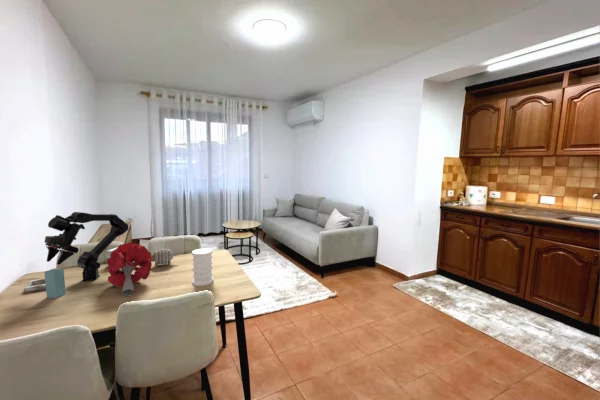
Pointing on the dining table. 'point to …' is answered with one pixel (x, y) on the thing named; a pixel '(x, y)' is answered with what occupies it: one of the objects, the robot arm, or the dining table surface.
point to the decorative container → (202, 267)
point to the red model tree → (128, 266)
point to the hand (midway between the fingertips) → (52, 262)
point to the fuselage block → (55, 283)
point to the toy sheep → (162, 256)
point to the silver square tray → (35, 286)
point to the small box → (109, 253)
